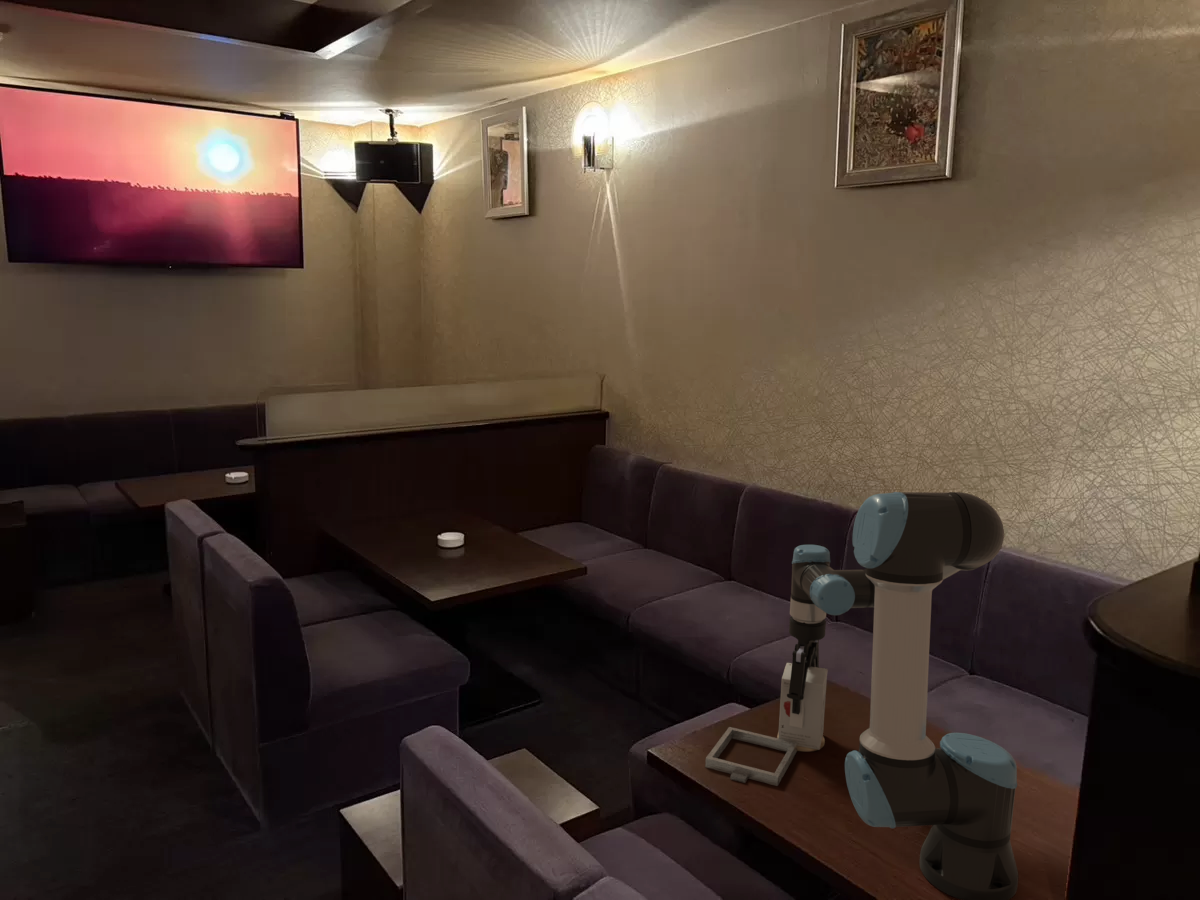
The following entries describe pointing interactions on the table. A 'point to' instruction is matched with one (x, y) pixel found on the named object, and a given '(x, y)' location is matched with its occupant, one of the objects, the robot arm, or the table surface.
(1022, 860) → the table surface
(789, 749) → the grey frame with tab
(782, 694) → the supplement box
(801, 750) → the coaster
